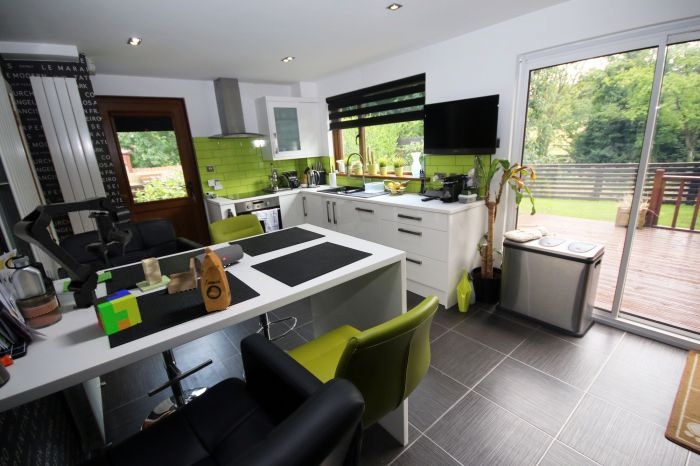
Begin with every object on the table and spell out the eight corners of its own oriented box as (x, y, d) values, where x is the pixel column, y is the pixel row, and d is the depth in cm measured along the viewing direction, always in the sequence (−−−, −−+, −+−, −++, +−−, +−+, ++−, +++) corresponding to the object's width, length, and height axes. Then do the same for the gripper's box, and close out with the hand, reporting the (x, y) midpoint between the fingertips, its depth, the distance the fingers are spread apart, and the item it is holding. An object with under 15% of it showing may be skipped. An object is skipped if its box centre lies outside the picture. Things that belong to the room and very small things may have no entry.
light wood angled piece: (169, 294, 133) (164, 271, 130) (171, 282, 144) (167, 262, 142) (197, 288, 137) (192, 266, 134) (197, 277, 148) (193, 257, 146)
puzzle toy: (132, 313, 118) (125, 289, 115) (141, 322, 112) (135, 296, 109) (99, 325, 110) (91, 299, 108) (107, 335, 104) (100, 308, 102)
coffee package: (202, 315, 114) (191, 258, 108) (205, 300, 125) (195, 248, 119) (231, 309, 117) (222, 253, 111) (231, 295, 128) (223, 244, 122)
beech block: (150, 286, 140) (144, 262, 137) (146, 283, 144) (141, 260, 141) (162, 282, 144) (157, 259, 141) (158, 279, 147) (153, 257, 144)
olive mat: (143, 292, 136) (143, 290, 136) (136, 284, 144) (135, 283, 144) (173, 282, 144) (173, 281, 144) (164, 276, 152) (164, 275, 152)
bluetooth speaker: (204, 277, 148) (200, 257, 146) (194, 273, 154) (190, 254, 151) (245, 262, 166) (243, 244, 163) (235, 259, 171) (232, 241, 169)
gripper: (107, 231, 123) (117, 268, 128) (138, 220, 141) (146, 253, 146) (79, 232, 124) (90, 269, 128) (114, 221, 142) (122, 254, 146)
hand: (114, 261), depth 137 cm, fingers open, 9 cm apart
